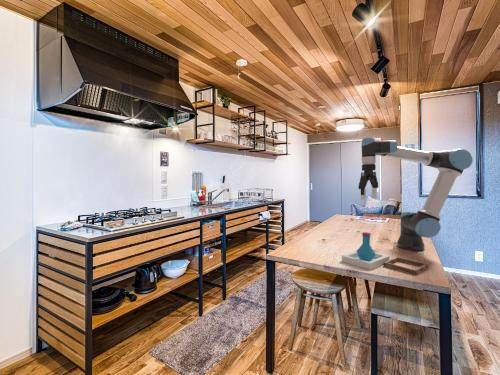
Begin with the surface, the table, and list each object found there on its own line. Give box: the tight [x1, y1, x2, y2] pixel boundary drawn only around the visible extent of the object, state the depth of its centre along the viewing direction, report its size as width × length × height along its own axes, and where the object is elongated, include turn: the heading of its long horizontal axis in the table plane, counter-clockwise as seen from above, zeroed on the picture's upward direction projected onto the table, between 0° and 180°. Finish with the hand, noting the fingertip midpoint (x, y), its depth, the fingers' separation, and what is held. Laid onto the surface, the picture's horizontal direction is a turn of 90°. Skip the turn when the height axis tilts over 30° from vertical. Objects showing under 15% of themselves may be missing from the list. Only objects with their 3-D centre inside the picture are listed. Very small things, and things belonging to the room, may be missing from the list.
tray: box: [341, 250, 391, 271], centre depth 142 cm, size 20×16×3 cm
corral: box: [383, 256, 429, 276], centre depth 133 cm, size 15×15×2 cm
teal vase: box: [356, 231, 376, 262], centre depth 142 cm, size 9×9×15 cm
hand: (368, 199), depth 157 cm, fingers open, 13 cm apart
